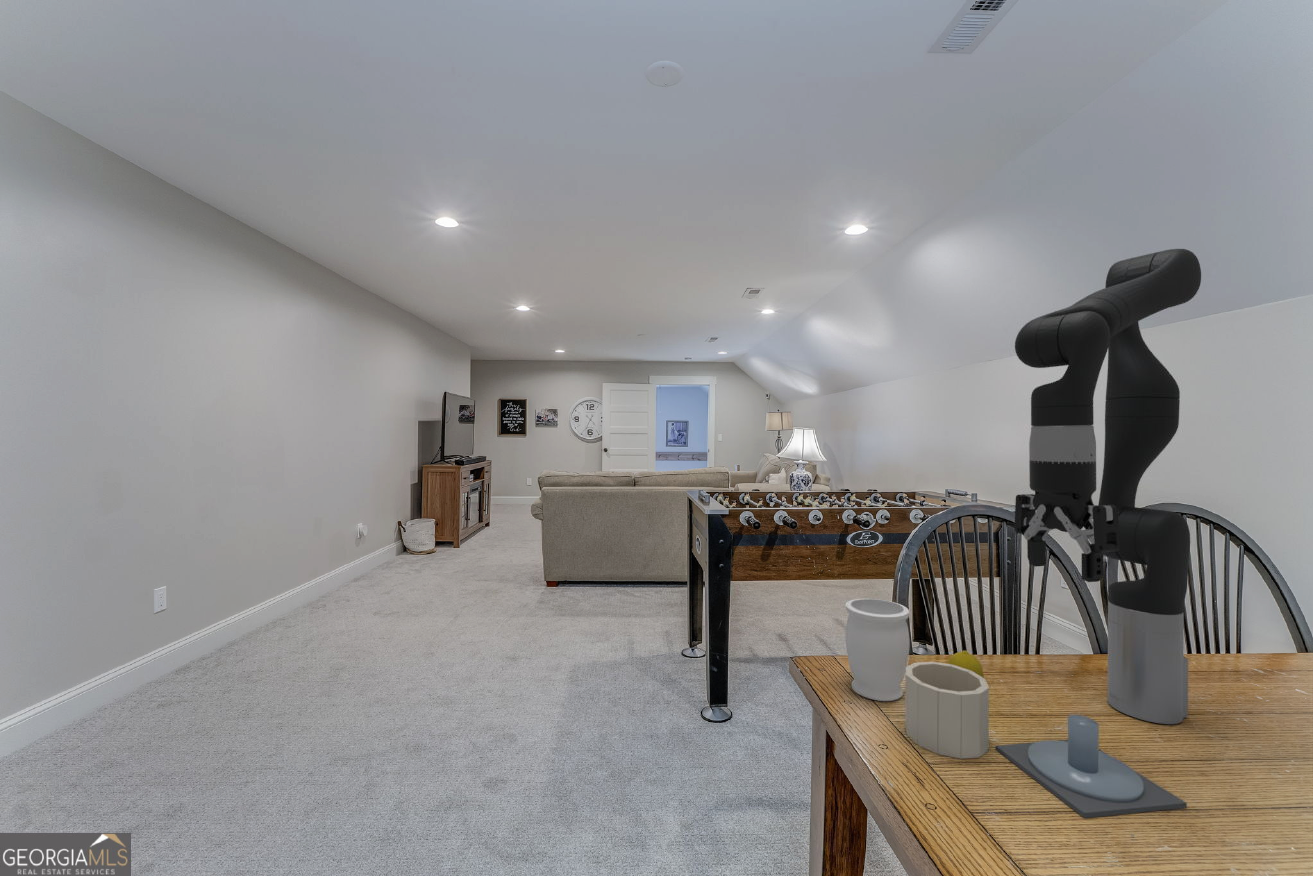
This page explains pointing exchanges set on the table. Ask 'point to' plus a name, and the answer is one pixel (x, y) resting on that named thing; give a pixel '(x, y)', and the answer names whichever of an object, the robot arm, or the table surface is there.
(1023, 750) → the mat
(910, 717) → the crock
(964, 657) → the lemon
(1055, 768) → the lid
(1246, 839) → the table surface
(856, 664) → the jar
